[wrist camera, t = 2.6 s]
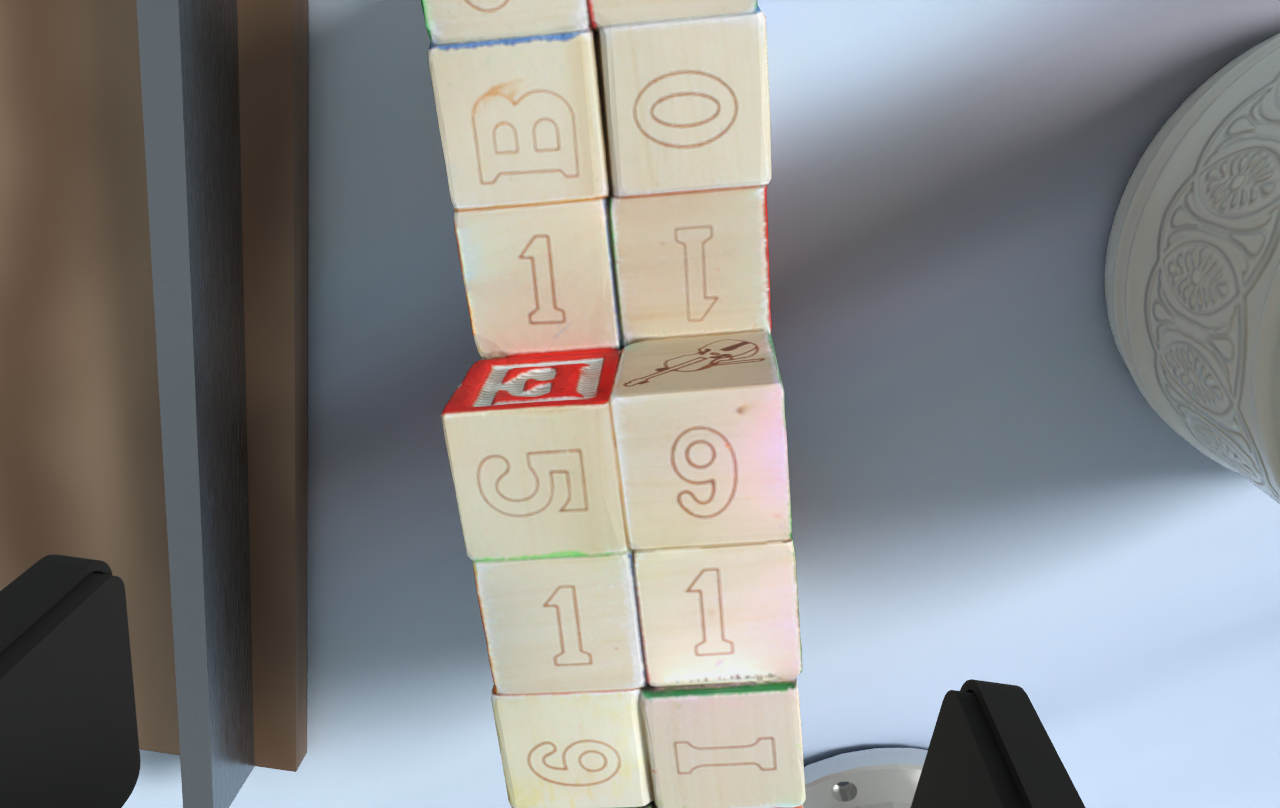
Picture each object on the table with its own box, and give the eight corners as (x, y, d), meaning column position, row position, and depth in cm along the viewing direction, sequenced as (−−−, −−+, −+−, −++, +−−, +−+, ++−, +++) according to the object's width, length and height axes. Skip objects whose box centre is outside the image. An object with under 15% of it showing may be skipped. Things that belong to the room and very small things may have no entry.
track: (308, -95, 25) (238, -122, 21) (306, 752, 34) (259, 837, 31) (-290, -177, 25) (-466, -218, 21) (-121, 691, 35) (-220, 768, 31)
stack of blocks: (500, -80, 25) (329, -199, 13) (739, -104, 24) (779, -251, 13) (584, 616, 32) (521, 933, 20) (768, 609, 31) (810, 930, 20)
